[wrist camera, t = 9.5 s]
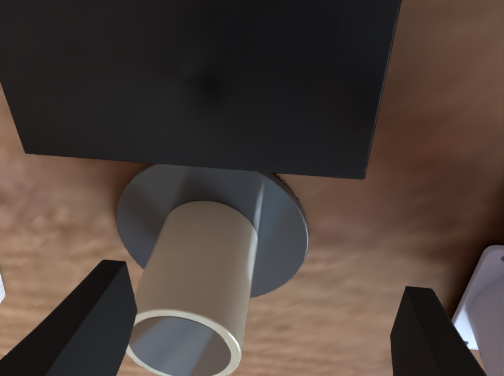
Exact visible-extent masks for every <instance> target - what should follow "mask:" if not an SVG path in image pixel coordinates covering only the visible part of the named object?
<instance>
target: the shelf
mask: <svg viewBox="0 0 504 376" xmlns="http://www.w3.org/2000/svg"><path fill="white" fill-rule="evenodd" d="M401 1H402V0H0V83H1V86H2V88H3V91H4V94H5V97H6V100H7V103H8V106H9V108H10V111H11V114H12V117H13V120H14V123H15V126H16V128H17V131H18V134H19V137H20V140H21V143H22V146H23V149H24V151H25V153H26V154H37V155H50V156H62V157H75V158H88V159H101V160H114V161H127V162H140V163H153V164H166V165H179V166H192V167H205V168H218V169H231V170H243V171H256V172H269V173H282V174H295V175H308V176H321V177H334V178H347V179H360V180H364V179H365V175H366V170H367V165H368V161H369V156H370V151H371V146H372V141H373V136H374V132H375V127H376V122H377V117H378V112H379V107H380V103H381V98H382V93H383V88H384V83H385V78H386V74H387V69H388V64H389V59H390V54H391V49H392V45H393V40H394V35H395V30H396V25H397V20H398V16H399V11H400V6H401Z"/></svg>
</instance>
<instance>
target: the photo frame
mask: <svg viewBox="0 0 504 376" xmlns="http://www.w3.org/2000/svg"><path fill="white" fill-rule="evenodd" d="M4 297H5V291H4V287H3V283H2V279H1V275H0V303H1V301H2V300H3V298H4Z"/></svg>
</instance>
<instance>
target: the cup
mask: <svg viewBox="0 0 504 376" xmlns="http://www.w3.org/2000/svg"><path fill="white" fill-rule="evenodd" d="M257 248H258V237H257V233H256V231H255V229H254V227H253V225H252V224H251V222H250V221H249V220H248V219H247V218H246V217H245V216H244V215H243V214H241V213H240V212H239V211H237V210H235V209H234V208H232V207H230V206H227V205H225V204H222V203H218V202H213V201H193V202H188V203H185V204H182V205H180V206H178V207H177V208H175V209H173V210H172V211H171V212H170V213H169V214H168V216H167V217H166V219H165V220H164V223H163V225H162V228H161V230H160V232H159V235H158V237H157V240H156V242H155V245H154V247H153V250H152V252H151V254H150V257H149V259H148V262H147V264H146V267H145V269H144V272H143V274H142V276H141V279H140V281H139V284H138V286H137V289H136V291H135V294H134V297H135V302H136V306H137V310H138V311H137V315H136V319H135V323H134V326H133V330H132V334H131V337H130V340H129V344H128V347H127V350H126V353H127V354H128V356H129V357H130V358H131V359H132V360H134V361H135V362H136V363H137V364H139V365H140V366H142V367H143V368H145V369H147V370H149V371H151V372H153V373H155V374H158V375H160V376H227V375H229V374H230V373H231V372H233V371H234V370H235V369H236V368H237V366H238V365H239V363H240V361H241V356H242V350H243V343H244V336H245V329H246V322H247V316H248V309H249V302H250V295H251V288H252V282H253V275H254V268H255V261H256V254H257Z"/></svg>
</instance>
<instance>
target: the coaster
mask: <svg viewBox="0 0 504 376" xmlns="http://www.w3.org/2000/svg"><path fill="white" fill-rule="evenodd" d="M193 201H213V202H218V203H222V204H225V205H227V206H230V207H232V208H234V209H235V210H237V211H239V212H240V213H241V214H243V215H244V216H245V217H246V218H247V219H248V220H249V221H250V222H251V224H252V225H253V227H254V229H255V231H256V233H257V237H258V248H257V254H256V261H255V268H254V275H253V282H252V288H251V295H250V298H253V297H257V296H260V295H263V294H266V293H269V292H271V291H273V290H275V289H277V288H279V287H280V286H282V285H284V284H285V283H286V282H287V281H289V280H290V279H291V278H292V277H293V276H294V275H295V274H296V272H297V271H298V270H299V268H300V267H301V265H302V264H303V262H304V259H305V257H306V254H307V249H308V240H309V230H308V223H307V219H306V216H305V213H304V210H303V208H302V207H301V205H300V203H299V201H298V200H297V198H296V197H295V195H294V194H293V193H292V191H291V190H290V189H289V188H288V187H287V186H286V185H285V184H284V183H283V182H282V181H281V180H279V179H278V178H277V177H276V176H274V175H273V174H272V173H269V172H256V171H243V170H231V169H218V168H205V167H192V166H179V165H166V164H153V163H150V164H148V165H146V166H145V167H144V168H142V169H141V170H140V171H138V172H137V173H136V174H135V175H134V177H133V178H132V179H131V180H130V181H129V183H128V184H127V186H126V187H125V189H124V191H123V193H122V195H121V198H120V200H119V203H118V208H117V225H118V230H119V234H120V237H121V239H122V242H123V244H124V246H125V248H126V249H127V251H128V252H129V254H130V255H131V256H132V258H133V259H134V260H135V261H136V262H137V264H139V265H140V266H141V267H142V268H143V269H145V267H146V264H147V262H148V259H149V257H150V254H151V252H152V250H153V247H154V245H155V242H156V240H157V237H158V235H159V232H160V230H161V228H162V225H163V223H164V220H165V219H166V217H167V216H168V214H169V213H170V212H171V211H172V210H173V209H175V208H177V207H178V206H180V205H182V204H185V203H188V202H193Z"/></svg>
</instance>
